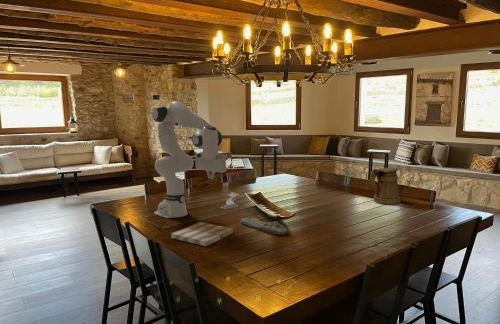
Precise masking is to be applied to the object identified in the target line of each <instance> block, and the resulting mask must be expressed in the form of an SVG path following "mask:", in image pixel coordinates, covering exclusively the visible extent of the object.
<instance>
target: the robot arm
mask: <svg viewBox="0 0 500 324" xmlns="http://www.w3.org/2000/svg"><path fill="white" fill-rule="evenodd" d="M151 115H152V119H153V121H155V122H157V123H158V124H157V135H158V140H159V144H160V148H161V150H162V152H165V153H166V154H168V155H169V156H162V157H160V158H157V159H156V160H155V163H154V169H155V171H156V172H157V173H158V174H159V175H160V176H162V178H163V179H164V181H165V186H166V194H164V199H163V200H162V201H161V202H160V203H159V204H158V205H157V210H155V211H154V213H153V214H154V215H156V216H159V217H163V218H165V219H170V218H172V219H173V218H181V217H185V216H187V215H188V211H187V206H186V201H185V200H186V193H185V182H184V181H183V179H181V178H180V177H177V175H176V174H177V173H184V172H187V171H190V170H192V169H193V167H194V163H195V168H196V170H198V171H199V170H200V171H206V174H207V178H208V179H211V180H212V179H214V178H215V175H216V173H222V174H223V173H226V171H227V159H226V157H225V156H222V155H219V146H221V144H222V141H223V135H222V133H221V132H220V131H219V130H218V129H217V127H216V126H213V125H212V126H211V125H210V124H209V123H208V122H207V121H205V120H204V119H203V118H202V117H200V116H198V115H197V114H195V113H193V112H192V111H191V110H190V109H189V108H188V107H187V106H186V105H185V103H182V101H180V100H174V101H172V102H171V103H170V104H169V105H158V106H155V107H154V108H153V110H152V114H151ZM175 126H181V127H183V128H193V129H197V130H198V131H195V132H194V133H193V134H192V137H191V141H192V144H193V146H194V147H196V148H198V149H199V148H200V149H201V148H202V151H201V152H198V153H197V152H196V154H195V157H196V158H195V162H194V160H193V157H192V156H191V155H189V154H187V153H186V152H185V151H184V150H183V149H182V148H181V147H180V145H179V141H178V137H177V135H176V134H177V133H176V131H175Z"/></svg>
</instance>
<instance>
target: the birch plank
mask: <svg viewBox="0 0 500 324" xmlns="http://www.w3.org/2000/svg"><path fill="white" fill-rule="evenodd" d="M170 237H171V239H174V240H179V241H182V242H187V243H191V244H194V245H195V244H196V245H199V246H204V247H208V246H210V245H212V244H214V243H216V242H217V241H220V240H221V239H220V235H217V234H212V233H208V232H203V231H199V230H194V229H189V228H186V227H184V228H181V229H179V230H176V231H174V232H171V233H170Z"/></svg>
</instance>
